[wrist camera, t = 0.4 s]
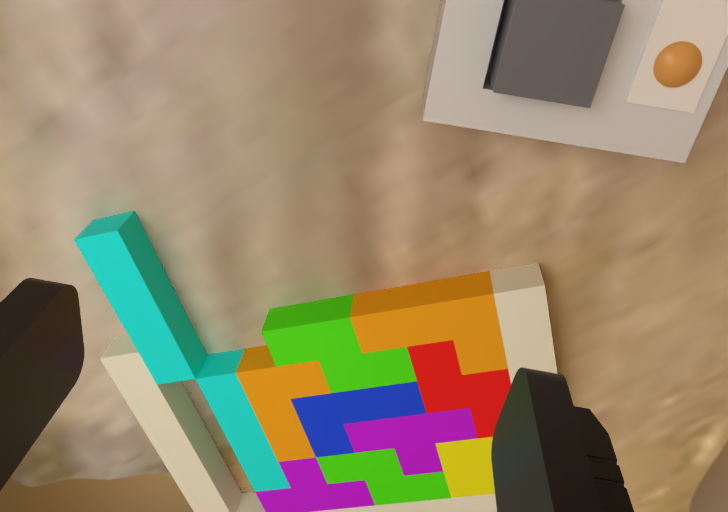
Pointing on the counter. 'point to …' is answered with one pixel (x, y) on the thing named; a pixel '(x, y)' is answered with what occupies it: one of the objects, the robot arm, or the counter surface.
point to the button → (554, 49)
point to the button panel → (616, 86)
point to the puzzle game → (326, 386)
